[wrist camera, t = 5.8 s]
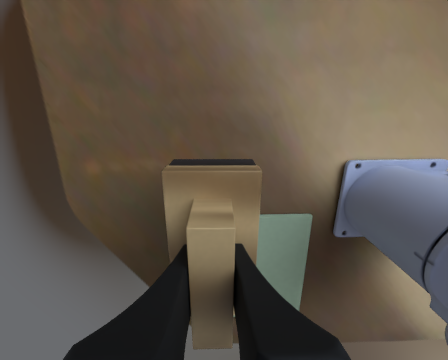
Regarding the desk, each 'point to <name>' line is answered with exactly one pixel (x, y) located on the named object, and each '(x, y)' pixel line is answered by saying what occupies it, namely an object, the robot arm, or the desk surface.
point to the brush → (212, 235)
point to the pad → (284, 252)
